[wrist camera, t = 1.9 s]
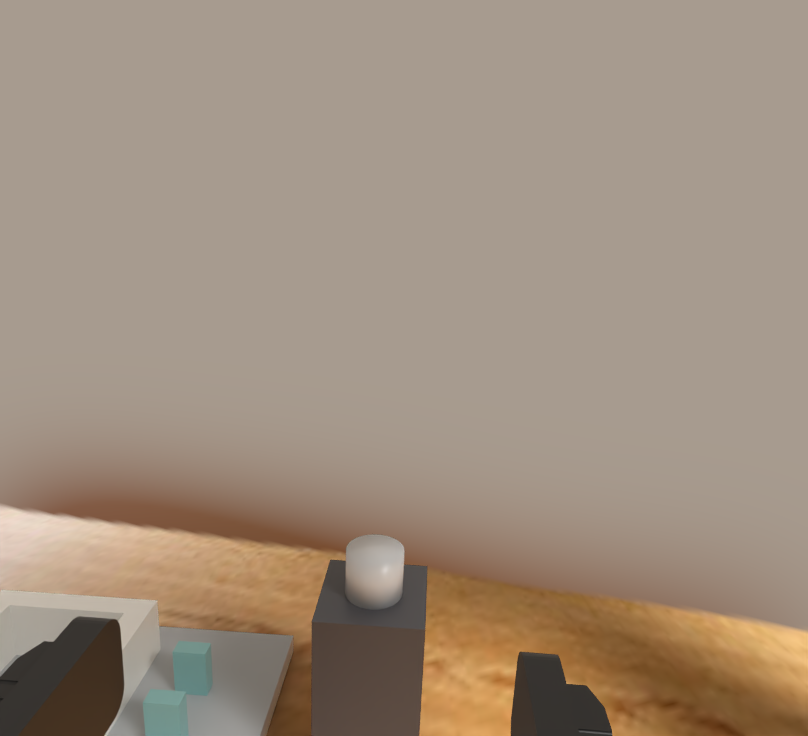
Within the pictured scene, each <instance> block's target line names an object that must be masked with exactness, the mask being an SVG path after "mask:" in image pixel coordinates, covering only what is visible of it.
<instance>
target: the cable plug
mask: <svg viewBox="0 0 808 736" xmlns="http://www.w3.org/2000/svg"><path fill="white" fill-rule="evenodd" d="M426 591H427V566H417V565H404V546H403V545H402V544H401V543H400V542H399V541H398V540H396V539H394V538H392V537H389V536H385V535H375V534H373V535H364V536H360V537H357V538H355V539H353V540H352V541H351V542H350V543H348V545H347V547H346V561H341V560H330V563H329V566H328V570H327V573H326V576H325V580H324V583H323V586H322V590H321V593H320V596H319V600H318V603H317V606H316V610H315V613H314V616H313V620H312V709H311V736H419V729H420V712H421V694H422V677H423V660H424V642H425V621H426Z"/></svg>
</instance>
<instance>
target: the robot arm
mask: <svg viewBox="0 0 808 736" xmlns="http://www.w3.org/2000/svg"><path fill="white" fill-rule="evenodd" d="M123 693H124V671H123V657H122V643H121V630H120V624H119V622H118V621H117V620H116V619H108V618H95V617H83V616H78V617H76V618H74V619H73V620H72V621H71V622H70V623H69V624H68V626H67V627H66V628H65V629H64V630H63V631H62V632H61V634H60V635H59V636H58V637H57V638H56V639H55V640H54V642H49V641H44V642H42V643H40V644H39V645H37V646H36V647H34V648H33V649H31V650H30V651H28V652H26V653H25V654H23V655H22V656H20V657H19V658H17V659H16V660H15V661H14V662H13V663H12V665H11V666H10V667H9V668H8V669H7V670H6V671H5V672H4V673H3V674H2V675H1V676H0V736H104V735H105V734H106V732H107V731H108V729H109V727H110V726H111V724H112V723H113V721H114V719H115V718H116V716H117V713H118V711H119V709H120V706H121V702H122V698H123ZM511 736H612V729H611V726H610V723H609V720H608V717H607V714H606V711H605V708H604V706H603V705H602V704H601V703H600V701H599V700H598V699H597V698H596V697H595V695H594V694H593V693H592V692H591V691H590V689H589V688H588V687H587V686H585V685H572V684H566V681H565V677H564V673H563V669H562V665H561V662H560V658H559V656H558V655H555V654H542V653H529V652H520V653H519V656H518V662H517V671H516V680H515V689H514V698H513V707H512V717H511Z"/></svg>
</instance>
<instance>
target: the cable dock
mask: <svg viewBox="0 0 808 736" xmlns="http://www.w3.org/2000/svg"><path fill="white" fill-rule="evenodd" d="M78 616H83V617H95V618H108V619H116V620H117V621H118V622H119V624H120V630H121V643H122V657H123V671H124V693H123V698H122V702H121V706H120V709H119V711H118V713H117V716H116V718H115V719H114V721H113V723H112V724H111V726H110V727H109V729H108V731H107V732H106V734H105V735H104V736H266V735H267V732H268V728H269V725H270V722H271V719H272V716H273V713H274V710H275V707H276V704H277V701H278V697H279V694H280V691H281V688H282V685H283V682H284V679H285V676H286V673H287V669H288V666H289V663H290V660H291V657H292V654H293V636H290V635H275V634H261V633H247V632H233V631H219V630H205V629H191V628H177V627H163V626H159V617H158V602H157V600H144V599H129V598H115V597H101V596H86V595H72V594H57V593H43V592H28V591H14V590H1V591H0V676H1V675H2V674H3V673H4V672H5V671H6V670H7V669H8V668H9V667H10V666H11V665H12V663H13V662H14V661H15V660H16V659H17V658H19V657H20V656H22V655H23V654H25V653H26V652H28V651H30V650H31V649H33V648H34V647H36V646H37V645H39V644H40V643H42V642H44V641H49V642H54V640H55V639H56V638H57V637H58V636H59V635H60V634H61V632H62V631H63V630H64V629H65V628H66V627H67V626H68V624H69V623H70V622H71V621H72V620H73V619H74V618H76V617H78Z"/></svg>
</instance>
